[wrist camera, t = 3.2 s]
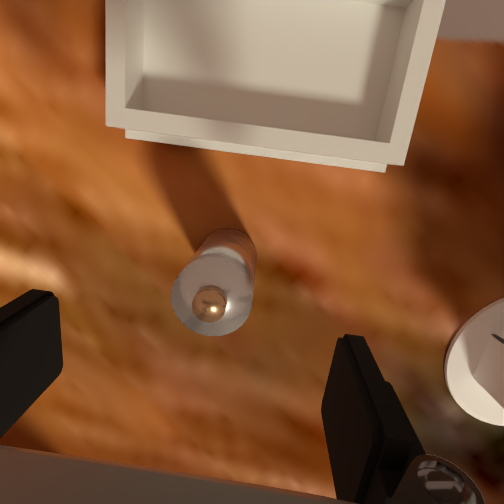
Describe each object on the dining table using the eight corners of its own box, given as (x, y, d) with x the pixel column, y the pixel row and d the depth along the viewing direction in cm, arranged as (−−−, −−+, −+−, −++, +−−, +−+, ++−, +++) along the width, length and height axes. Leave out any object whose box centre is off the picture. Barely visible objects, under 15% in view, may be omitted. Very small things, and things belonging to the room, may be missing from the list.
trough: (379, 171, 21) (401, 175, 17) (131, 138, 21) (105, 135, 17) (423, -14, 18) (459, -54, 14) (135, -52, 18) (105, -99, 15)
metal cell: (252, 286, 23) (245, 350, 16) (197, 278, 23) (164, 338, 16) (260, 232, 22) (256, 273, 15) (202, 224, 22) (168, 261, 15)
